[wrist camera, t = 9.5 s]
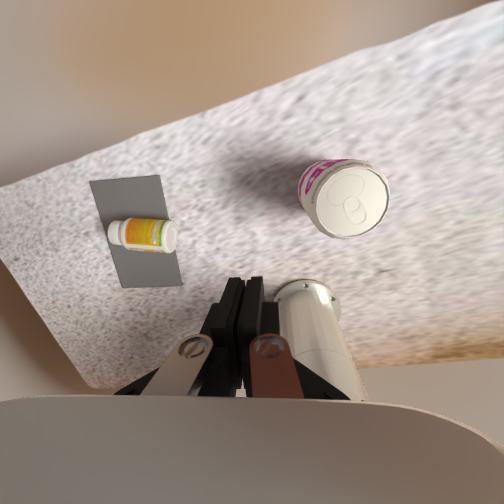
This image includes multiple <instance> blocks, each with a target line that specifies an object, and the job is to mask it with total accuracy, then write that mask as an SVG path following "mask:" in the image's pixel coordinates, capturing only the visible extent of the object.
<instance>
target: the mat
mask: <svg viewBox="0 0 504 504" xmlns="http://www.w3.org/2000/svg"><path fill="white" fill-rule="evenodd" d="M90 184H91V187H92V191H93V194H94V197H95V201H96V204H97V207H98V210H99V214H100V217H101V220H102V223H103V227H104V230H105V233H106V236H107V240H108V243H109V246H110V250H111V253H112V256H113V259H114V263H115V266H116V269H117V272H118V276H119V279H120V282H121V286H122V288H139V287H169V286H182V280H181V275H180V271H179V266H178V261H177V256H176V251H175V250H174V251H173V252H172V253H158V252H146V251H134V250H128V249H126V248H125V247H124V246H123V245H114V244H112V243H111V242H110V241H109V238H108V228H109V225H110V224H111V223H112V222H113V221H126V220H127V219H129V218H144V219H158V220H169V218H168V213H167V208H166V203H165V198H164V193H163V189H162V184H161V179H160V175H158V176H147V177H136V178H124V179H113V180H102V181H91V182H90Z"/></svg>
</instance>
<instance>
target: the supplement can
mask: <svg viewBox="0 0 504 504" xmlns="http://www.w3.org/2000/svg"><path fill="white" fill-rule="evenodd" d="M298 197H299V200H300V203H301V204H302V206H303V208H304V209H305V211H306V213H307V214H308V216H309V217H310V219H311V221H312V222H313V223H314V225H315V226H316V227H317V228H318V229H319V231H320V232H322V233H324V234H326V235H328V236H329V237H331V238H337V239H343V240H345V239H351V238H357V237H360V236H363V235H365V234H367V233H369V232H371V231H373V230H374V229H375V228H376V227H377V226H378V225H379V224H380V223H381V222H382V221H383V219H384V217H385V215H386V213H387V212H388V209H389V203H390V190H389V185H388V180H387V179H386V177H385V176H384V174H383V173H382V172H381V170H380V169H379V168H377V167H376V166H374V165H372V164H371V163H369V162H368V161H361V160H355V159H340V160H323V161H319V162H316V163H314V164H313V165H311V166H309V167H308V168H307V169H306V170H305V171H304V173H303V174H302V175H301V178H300V180H299V183H298Z"/></svg>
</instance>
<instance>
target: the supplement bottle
mask: <svg viewBox="0 0 504 504" xmlns="http://www.w3.org/2000/svg"><path fill="white" fill-rule="evenodd" d="M108 238H109V241H110V242H111V243H112V244H114V245H123V246H124V247H125V248H126V249H128V250H134V251H146V252H158V253H172V252H173V251H174V250H175V248H176V245H177V242H178V230H177V226H176V224H175V222H174V221H171V220H158V219H144V218H129V219H127V220H126V221H113V222H112V223H111V224H110V225H109V228H108Z"/></svg>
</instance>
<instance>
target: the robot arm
mask: <svg viewBox="0 0 504 504" xmlns="http://www.w3.org/2000/svg"><path fill="white" fill-rule="evenodd" d="M304 284H306V285H304ZM278 298H280V299H278ZM340 316H341V305H340V302H339V299H338V297H337V295H336V294H335V292H334V291H333V290H332V289H331V288H330V287H328V286H327V285H325V284H323V283H321V282H318V281H313V280H300V281H295V282H292V283H290V284H288V285H286V286H285V287H283V288H282V289H281V290H280V291H279V292H278V293H277V294H276V296H275V298H274V300H273V302H265V300H264V287H263V277H262V276H261V277H251V280H247V284H246V286H245V280H241V278H240V277H234V278H229V280H228V282H227V285H226V287H225V290H224V292H223V295H222V298H221V300H220V303H213V304H212V306H211V308H210V310H209V313H208V315H207V317H206V319H205V322H204V324H203V326H202V329H201V331H200V333H199V334H195V335H191V336H188V337H186V338H184V339H183V340H181V341H180V342H179V343H178V344H177V345H176V347H175V348H174V349H173V351H172V352H171V353H170V355H169V356H168V357H167V359H166V360H165V361H164V363H163V364H162V366H161V367H159V368H157V369H156V370H154V371H152V372H150V373H149V374H147V375H145V376H143V377H141V378H140V379H138V380H136V381H134V382H133V383H131V384H129V385H127V386H126V387H124V388H122V389H120V390H119V391H118V392H116V393H115V394H113V395H46V396H32V397H23V398H18V399H12V400H8V401H2V402H0V504H504V447H503V446H502V445H500V444H499V443H498V442H497V441H495V440H494V439H492V438H490V437H489V436H487V435H486V434H484V433H482V432H481V431H479V430H476V429H474V428H472V427H470V426H468V425H466V424H464V423H461V422H459V421H457V420H454V419H452V418H448V417H446V416H443V415H440V414H436V413H434V412H431V411H427V410H423V409H418V408H414V407H409V406H405V405H397V404H391V403H383V402H370V400H369V398H368V395H367V393H366V391H365V388H364V386H363V384H362V381H361V379H360V376H359V374H358V371H357V369H356V366H355V364H354V361H353V359H352V356H351V354H350V351H349V349H348V346H347V343H346V341H345V338H344V336H343V333H342V331H341V328H340V326H339V323H338V322H339V319H340ZM280 331H281V336H280ZM242 379H243V383H244V389H246V396H247V397H235V396H236V389H241V386H242Z"/></svg>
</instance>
